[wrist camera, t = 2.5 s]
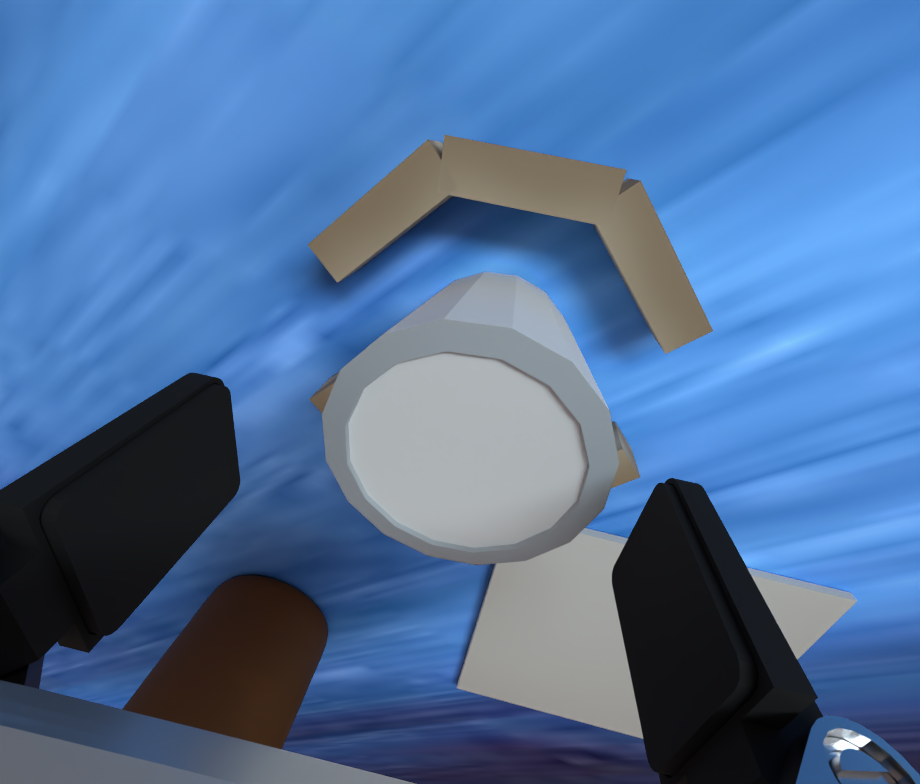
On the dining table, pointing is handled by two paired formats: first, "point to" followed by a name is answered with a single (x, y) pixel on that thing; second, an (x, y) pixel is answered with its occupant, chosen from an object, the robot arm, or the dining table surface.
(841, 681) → the dining table surface
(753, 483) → the dining table surface
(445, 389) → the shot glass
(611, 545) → the rubber mat
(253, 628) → the mug
